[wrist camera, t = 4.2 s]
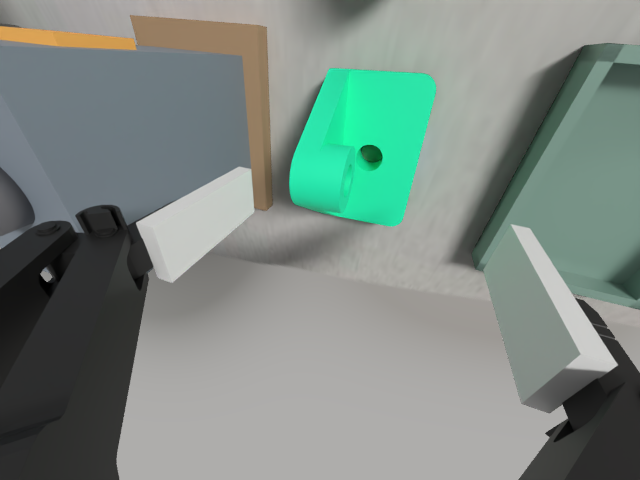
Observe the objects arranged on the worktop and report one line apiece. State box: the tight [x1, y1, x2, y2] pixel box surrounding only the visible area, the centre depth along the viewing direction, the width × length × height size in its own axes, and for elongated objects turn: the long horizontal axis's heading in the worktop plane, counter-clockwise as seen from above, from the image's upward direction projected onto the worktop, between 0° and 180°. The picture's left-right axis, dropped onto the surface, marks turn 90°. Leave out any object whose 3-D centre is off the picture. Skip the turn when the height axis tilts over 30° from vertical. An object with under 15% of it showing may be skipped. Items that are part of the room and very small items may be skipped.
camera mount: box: [289, 68, 436, 226], centre depth 19 cm, size 12×8×10 cm, turn 178°
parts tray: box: [472, 43, 640, 310], centre depth 19 cm, size 13×17×2 cm
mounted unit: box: [0, 15, 273, 273], centre depth 19 cm, size 12×16×19 cm
